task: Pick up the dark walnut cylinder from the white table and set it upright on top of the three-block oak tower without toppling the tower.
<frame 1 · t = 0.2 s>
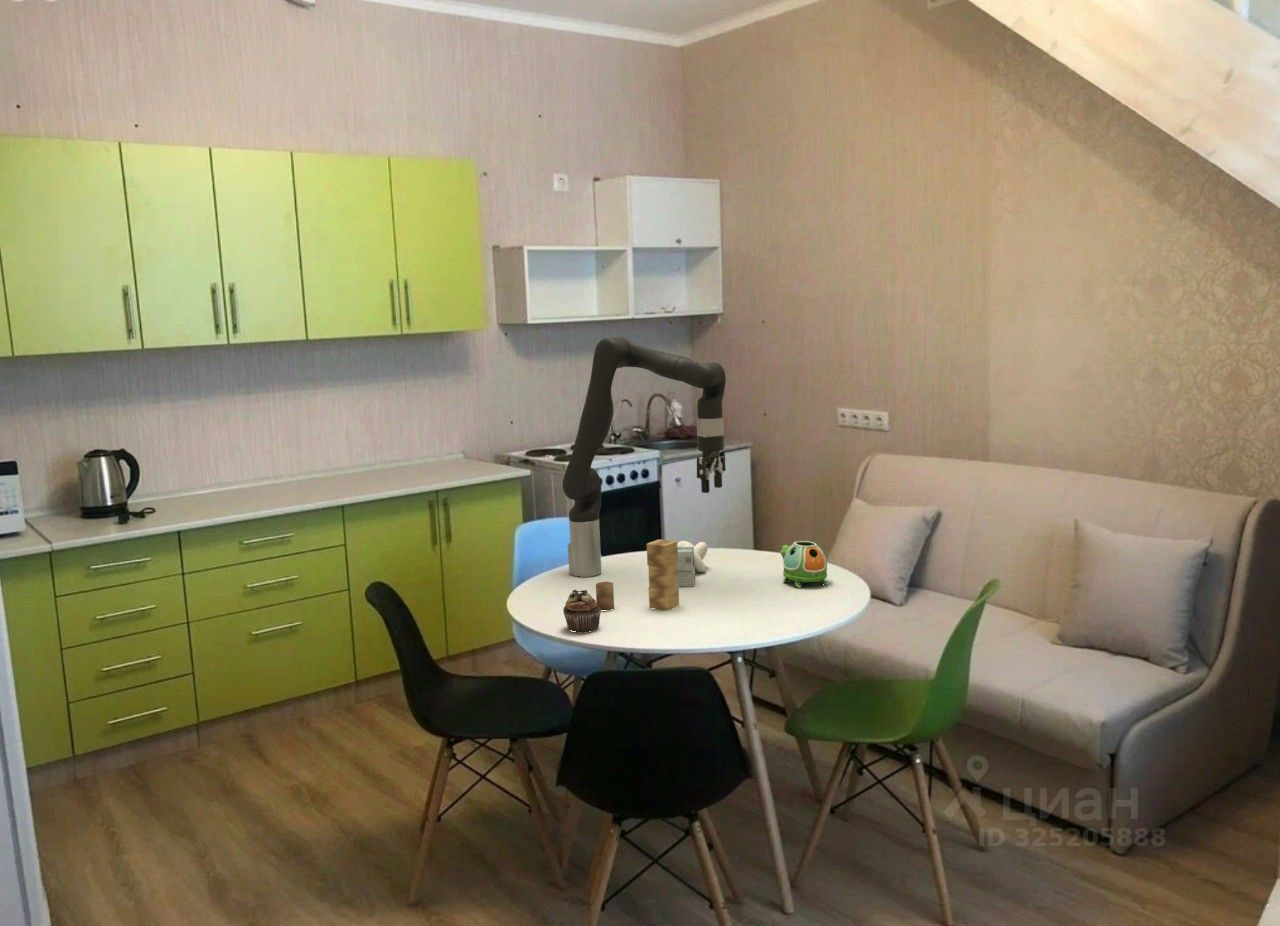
hand: (711, 490, 293), 29 cm above the table, tool pointing down, fingers open, 8 cm apart
walnut cylinder: (605, 608, 281), on the table
turtle holder: (802, 582, 301), on the table
cupcake: (583, 629, 264), on the table
tower top: (662, 564, 279), point 12 cm above the table, touching tower mid
light bulb box: (677, 584, 304), on the table
tower base: (664, 606, 281), on the table, touching tower mid
white knot sculpture: (688, 571, 318), on the table
tower mid: (663, 585, 280), point 6 cm above the table, touching tower base, tower top
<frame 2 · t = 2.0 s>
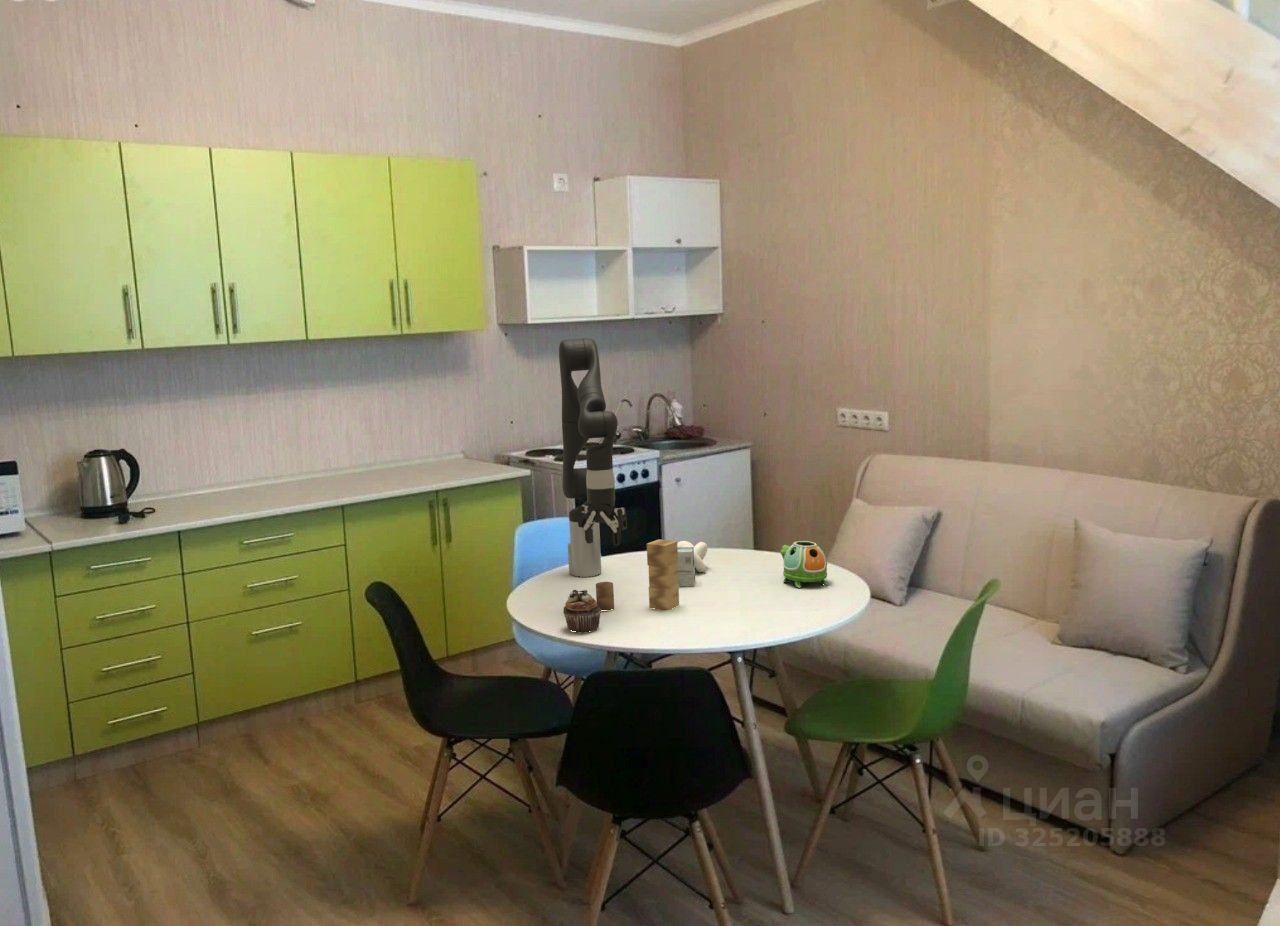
hand: (603, 544, 279), 18 cm above the table, tool pointing down, fingers open, 8 cm apart
nothing on the table moved.
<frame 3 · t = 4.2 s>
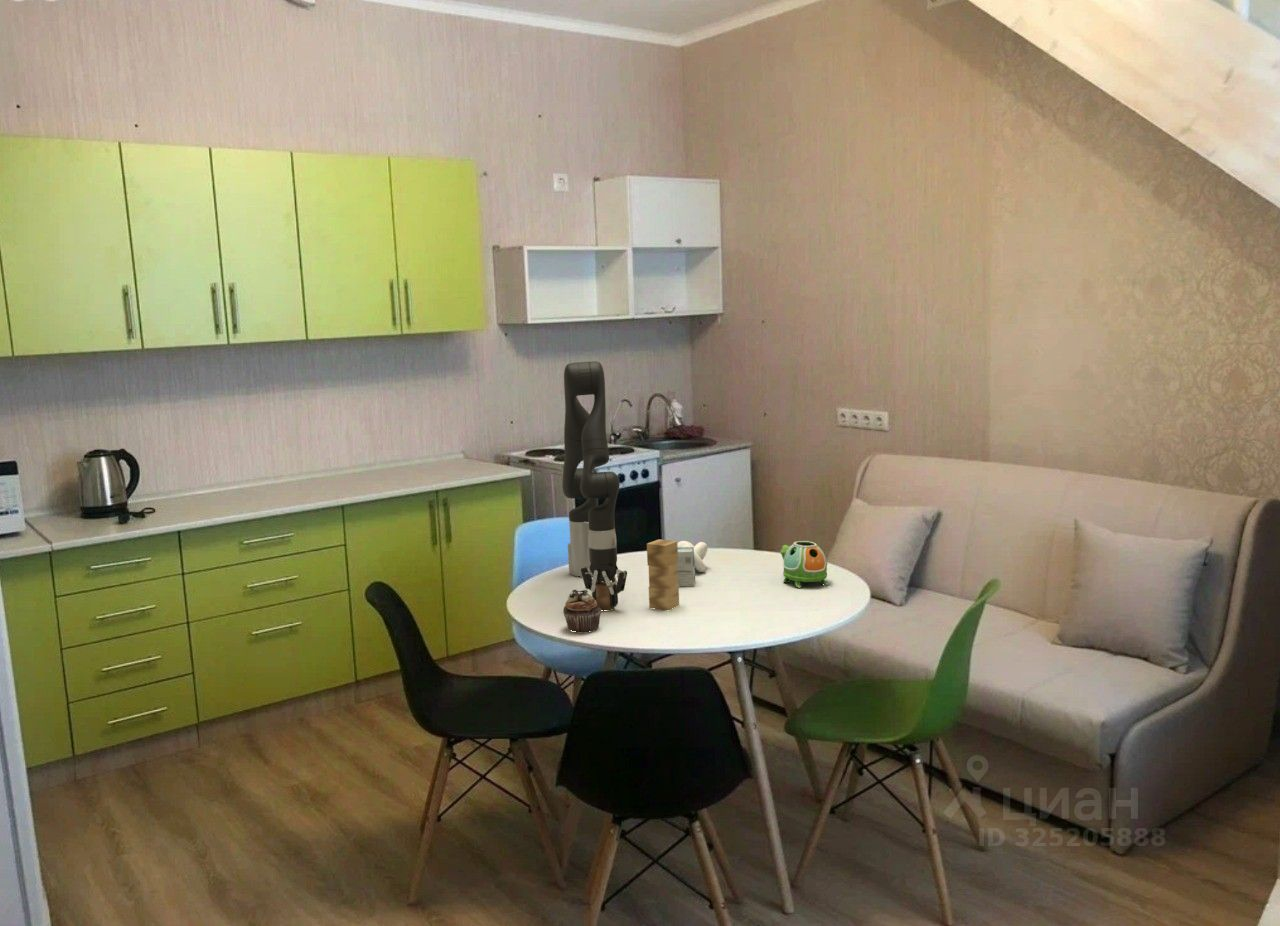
hand: (605, 605, 281), 1 cm above the table, tool pointing down, fingers closed on walnut cylinder, 4 cm apart
walnut cylinder: (605, 608, 281), on the table, touching gripper
everything else where it was.
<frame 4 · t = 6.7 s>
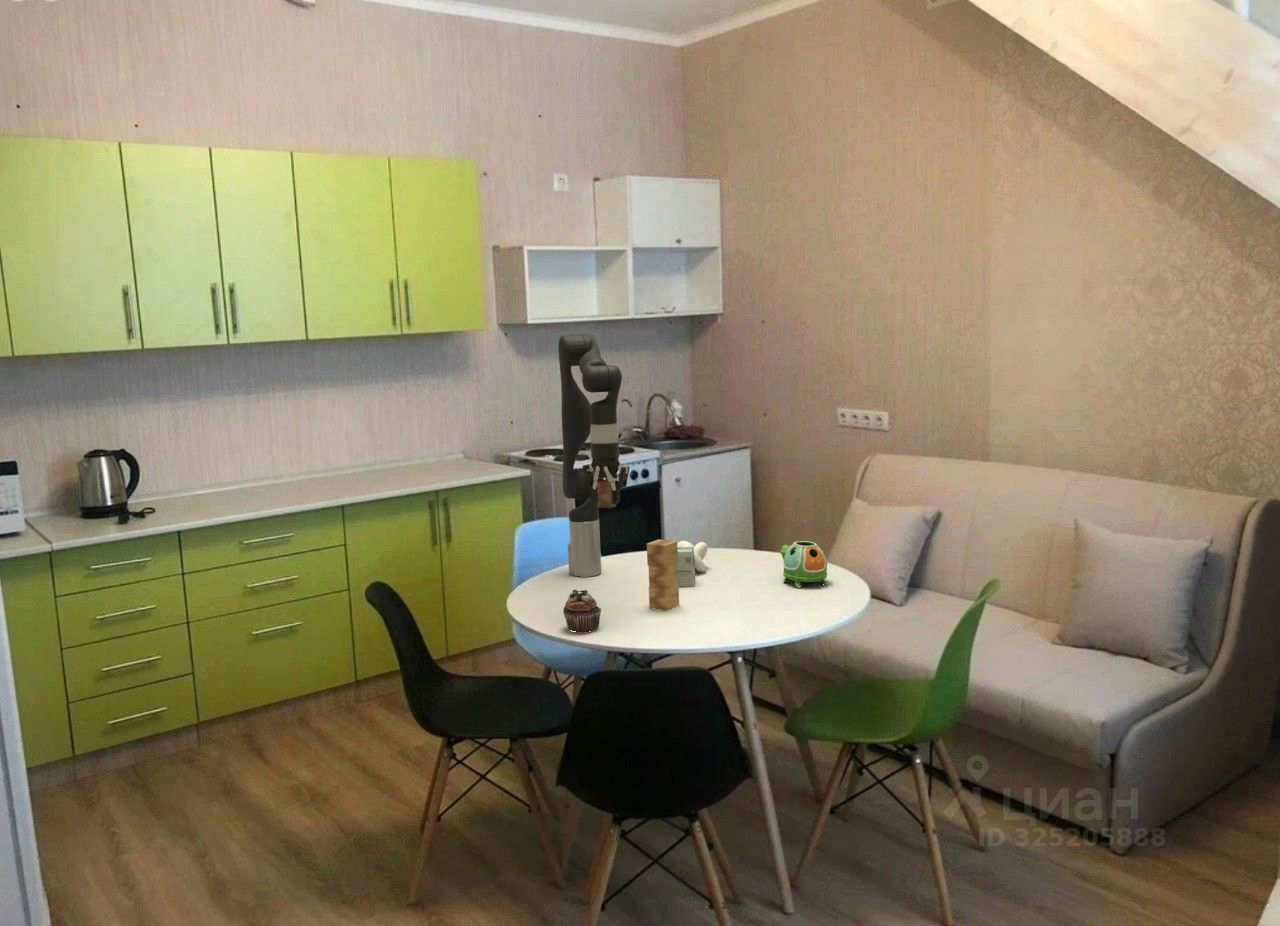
hand: (607, 502, 277), 29 cm above the table, tool pointing down, fingers closed on walnut cylinder, 4 cm apart
walnut cylinder: (607, 506, 277), point 28 cm above the table, touching gripper
everything else where it was.
when the fingers open (20 cm above the table, at t = 9.3 s): walnut cylinder drops 1 cm, resting on tower top.
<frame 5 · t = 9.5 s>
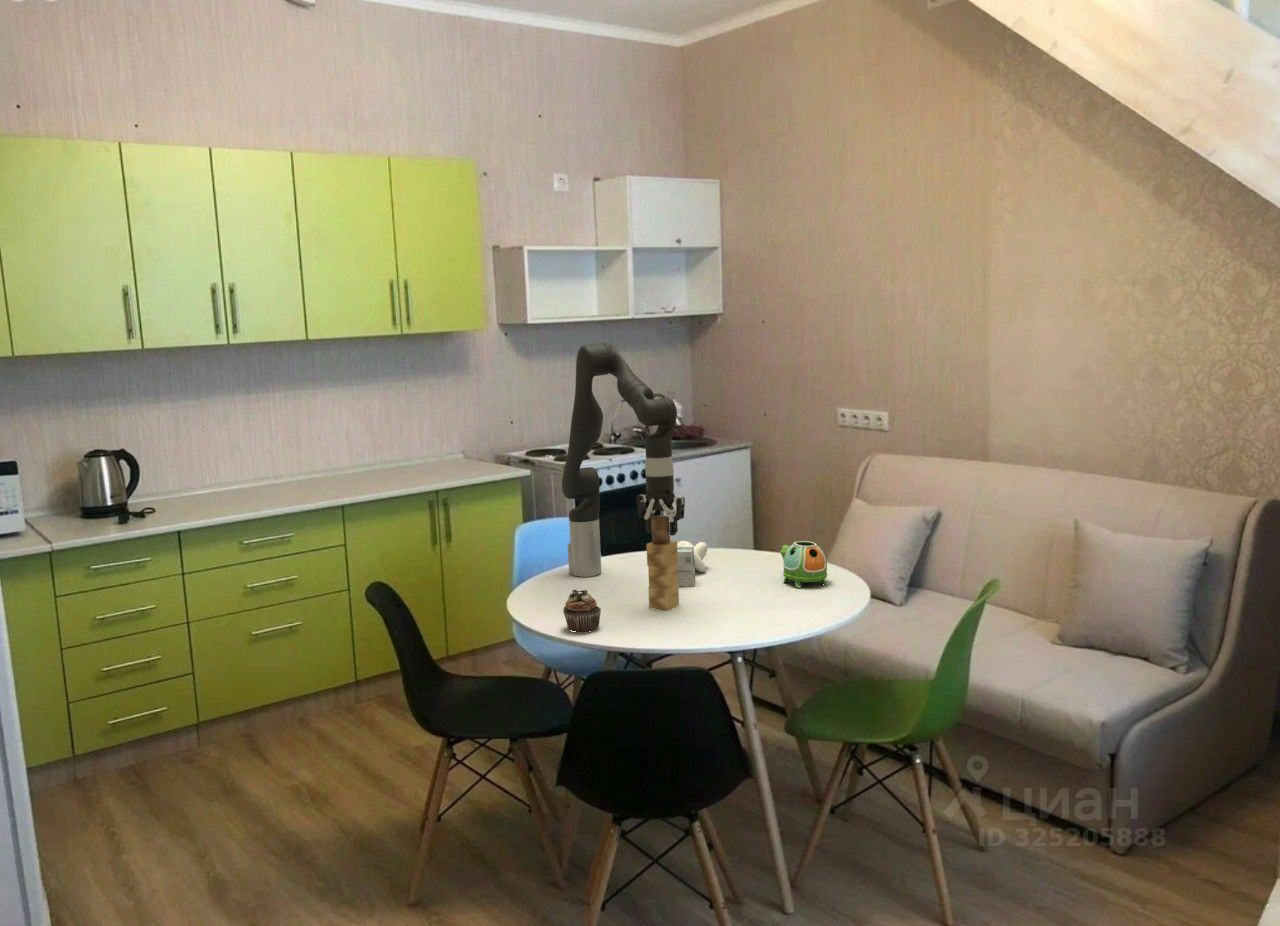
hand: (661, 533, 278), 20 cm above the table, tool pointing down, fingers open, 6 cm apart
walnut cylinder: (661, 542, 278), point 18 cm above the table, touching tower top
tower top: (662, 564, 279), point 12 cm above the table, touching tower mid, walnut cylinder
everything else where it was.
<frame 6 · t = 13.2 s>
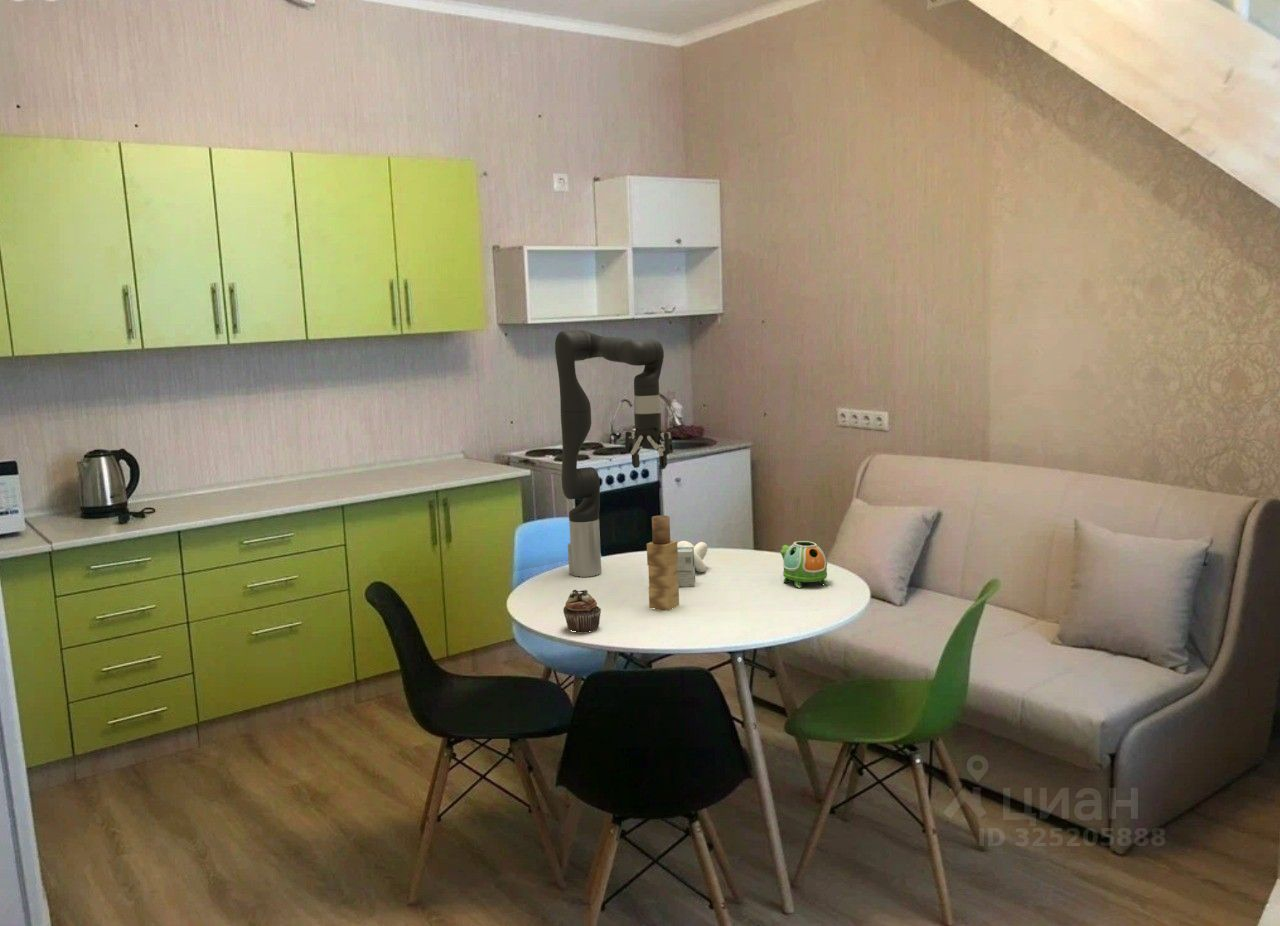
hand: (649, 468, 291), 36 cm above the table, tool pointing down, fingers open, 8 cm apart
nothing on the table moved.
at the end: walnut cylinder 0.1 cm off-centre on the tower top, point 6.0 cm above the tower top's base; walnut cylinder tilted 0°; tower top inside the target area (0.0 cm from its centre), point 11.9 cm above the table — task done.
